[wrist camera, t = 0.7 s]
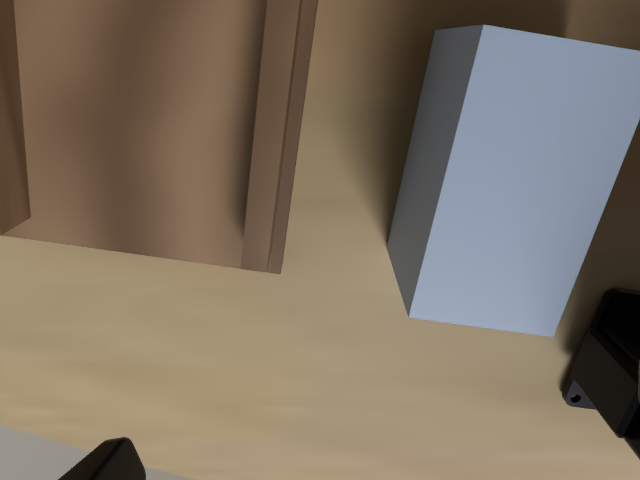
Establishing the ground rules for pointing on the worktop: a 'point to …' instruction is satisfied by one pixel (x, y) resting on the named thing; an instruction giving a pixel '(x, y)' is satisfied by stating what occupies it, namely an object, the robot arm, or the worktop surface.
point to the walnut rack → (153, 125)
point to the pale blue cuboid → (509, 174)
